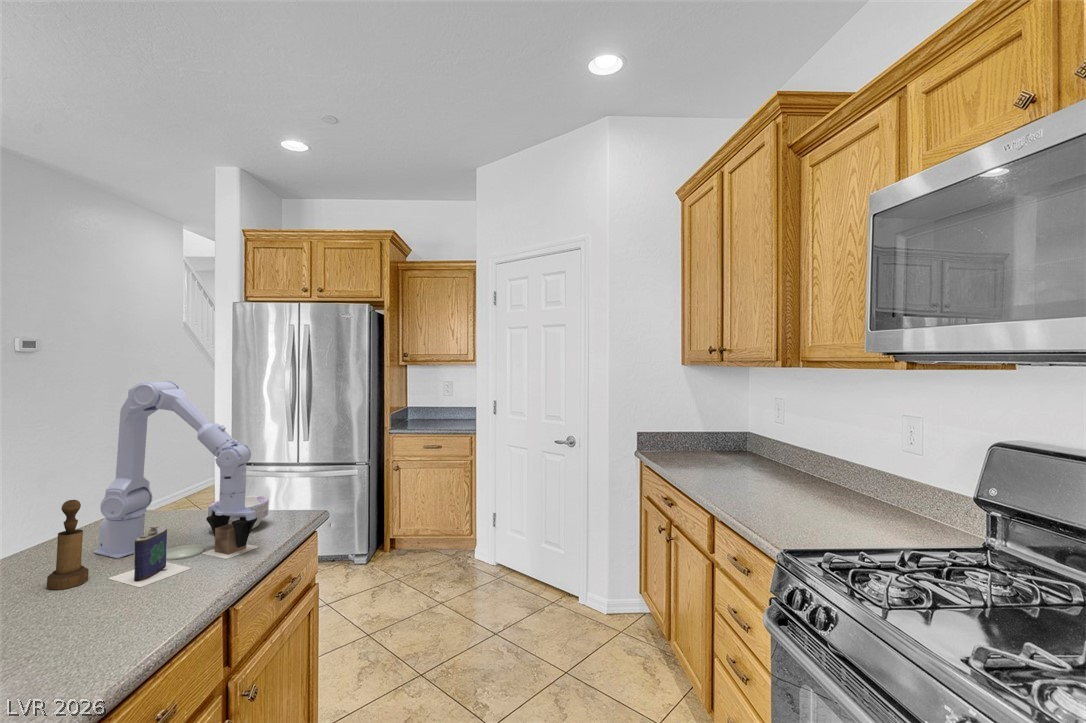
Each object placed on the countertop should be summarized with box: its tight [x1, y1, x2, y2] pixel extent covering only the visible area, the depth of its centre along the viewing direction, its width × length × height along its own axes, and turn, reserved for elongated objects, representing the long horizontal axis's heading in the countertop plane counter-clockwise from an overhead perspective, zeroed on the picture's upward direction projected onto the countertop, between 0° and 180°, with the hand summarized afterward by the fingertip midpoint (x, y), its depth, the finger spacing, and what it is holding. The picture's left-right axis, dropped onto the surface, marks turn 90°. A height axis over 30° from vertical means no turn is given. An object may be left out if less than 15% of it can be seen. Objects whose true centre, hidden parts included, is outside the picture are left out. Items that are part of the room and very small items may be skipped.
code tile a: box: [107, 561, 193, 588], centre depth 111 cm, size 11×11×1 cm
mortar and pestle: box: [46, 499, 89, 591], centre depth 106 cm, size 7×6×18 cm
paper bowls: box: [207, 495, 270, 530], centre depth 144 cm, size 15×15×8 cm
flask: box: [133, 525, 168, 582], centre depth 112 cm, size 9×3×11 cm, turn 8°
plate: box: [166, 543, 206, 561], centre depth 124 cm, size 9×9×1 cm
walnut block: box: [214, 523, 248, 555], centre depth 126 cm, size 5×5×6 cm
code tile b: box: [201, 544, 259, 560], centre depth 126 cm, size 9×9×1 cm
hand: (230, 544), depth 126 cm, fingers open, 7 cm apart
